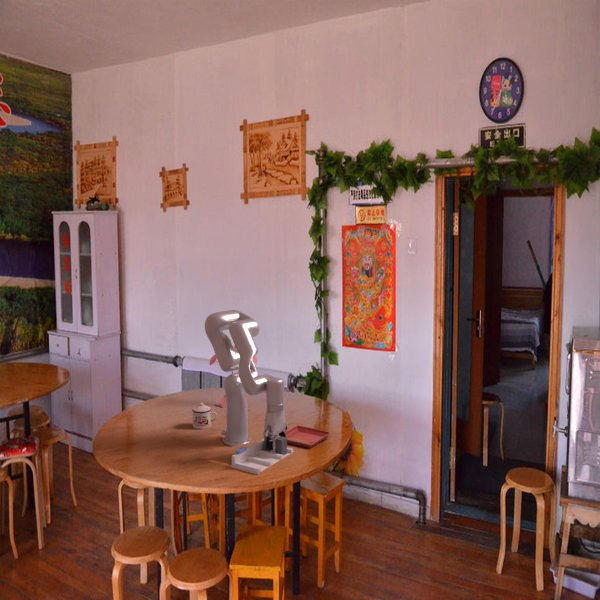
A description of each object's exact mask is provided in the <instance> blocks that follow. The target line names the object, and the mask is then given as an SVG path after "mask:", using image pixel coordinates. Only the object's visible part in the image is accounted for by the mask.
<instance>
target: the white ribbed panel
mask: <svg viewBox="0 0 600 600" xmlns="http://www.w3.org/2000/svg"><path fill="white" fill-rule="evenodd" d="M293 453H294V448H292V447H288V446H287V454H285V455H282V454H277V453H273V452H269V451H265V450H264V438H263V439H260V440H259V441H257V442H255V443H254V444H252V445H249V446H248V447H245V446H242V447H240V448H238V449H236V450H235V453H234V454H233V455H231V468H232V469H235V470H238V471H239V470H240V471H242V472H246V473H251V474H254V475H260V474H261V473H262V472H263V471H265V470H266V469H268V468H270V467H272V466H273V465H274V464H277V463H278V462H280V461H282V460H283V459H285V458H286V457H288V456H290V455H291V454H293Z"/></svg>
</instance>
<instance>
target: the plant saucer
mask: <svg viewBox="0 0 600 600" xmlns="http://www.w3.org/2000/svg"><path fill="white" fill-rule="evenodd" d="M330 434H331V432H330V431H326V430H321V429H317V428H312V427H307V426H302V425H296V426H294V427H292V428H291V429H288V430H286V438H287V444H291V445H295V446H298V447H303V448H309V449H311V448H312V447H314V446H315V445H317V444H319V442H320V443H321V442H323V441H324V440H326V439H327V437H328V436H329V435H330ZM288 438H291V439H288ZM292 439H299V440H301V441H305V442H306V441H307V442H311V443H305V442H300V441H296V440H292ZM322 440H323V441H322Z"/></svg>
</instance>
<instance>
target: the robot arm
mask: <svg viewBox="0 0 600 600" xmlns="http://www.w3.org/2000/svg"><path fill="white" fill-rule="evenodd" d="M226 330H228V331H229V334H230V337H231V339H232V341H233V344H234V345H233V344H232V341H231V339H230V337H229V336H228V335H227V334H226V333H225V332H223V331H226ZM204 331H205V334H206V337H207V338H208V340H209V342H210V344H211V347H212V348H213V351H214V355H215V354H216V357H217V360H216V361H217V362H218V365H219V367H220V369H221V370H222V371H223V372H225V373H226V372H227V373H229V372H230V373H231V372H232V371H233V374H232V373H231V374H229V375H227V376H226V377H225V379H224V380H223V389H224V395H226V405H225V408H226V410H225V412H226V413H225V414H226V429H225V428H222V429H221V432H220V435H223V436H224V437H223V444H225V445H226V446H231V447H236V446H245V445H248V444H250V443H251V442H252V437H251V436H250V435H249V426H248V425H249V424H248V423H249V422H248V421H249V414H248V412H249V411H248V408H249V407H248V399H247V397H246V396H245V395H244V394H245V393H247V395H249V396H252V397H253V396H257V395H258V396H259V395H261V394H263V393H265V394H266V397H265V398H266V412H265V415H264V416H265V417H264V431H263V432H262V435H263V439H264V438H265V440H266V449H268V450H273V441H272V439H273V436H275V435H278V436H282V437H286V432H287V431H288V430H287V429H288V424H289V421H287V420H286V411H285V382H284V381H285V380H283V378H281V377H276V376H273V375H271V374H269V373H268V374H267V373H265V374H260V375H259V372H258V370H257V366H256V365H255V364H256V363H254V362H253V359H252V358H253V357H254V356H256V355H258V354H259V348H258V346H257V344H256V341H255V339H254V337H257V336H258V335H259V333H260V325H259V323H258V322H257V321H256V320H255V319H254V318H252V317H251V316H249V315H247V314H245V313H244V312H242V311H240V310H235V309H232V310H230V309H229V310H224V311H223V310H222V311H217V312H213V313H211V314H209V315H208V316H207V317H206V319H205V322H204ZM234 346H235V347H236V349H234V348H233V347H234ZM237 370H238V372H234V371H237ZM245 397H246V398H245ZM246 399H247V400H246ZM269 435H270V436H271V437H269Z"/></svg>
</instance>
